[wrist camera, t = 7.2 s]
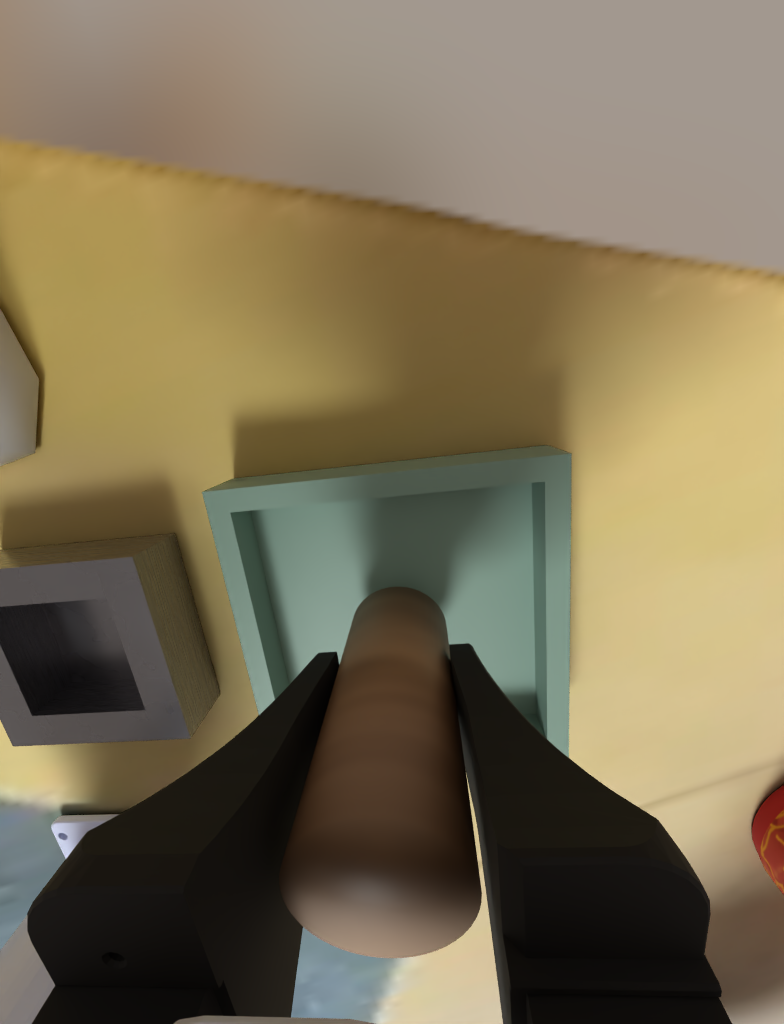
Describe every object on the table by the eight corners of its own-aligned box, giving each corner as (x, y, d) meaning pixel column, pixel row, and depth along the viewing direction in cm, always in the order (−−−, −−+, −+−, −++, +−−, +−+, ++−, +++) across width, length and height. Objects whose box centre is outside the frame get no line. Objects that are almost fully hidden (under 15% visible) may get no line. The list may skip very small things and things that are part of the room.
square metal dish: (220, 693, 18) (190, 738, 16) (64, 702, 19) (13, 746, 17) (174, 533, 16) (132, 556, 14) (0, 549, 17) (-69, 575, 14)
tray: (549, 713, 17) (568, 759, 15) (290, 725, 18) (272, 769, 16) (547, 445, 14) (571, 453, 12) (233, 478, 15) (202, 492, 13)
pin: (449, 667, 15) (486, 958, 7) (358, 671, 15) (298, 956, 7) (443, 582, 14) (475, 815, 6) (346, 590, 14) (261, 819, 6)
